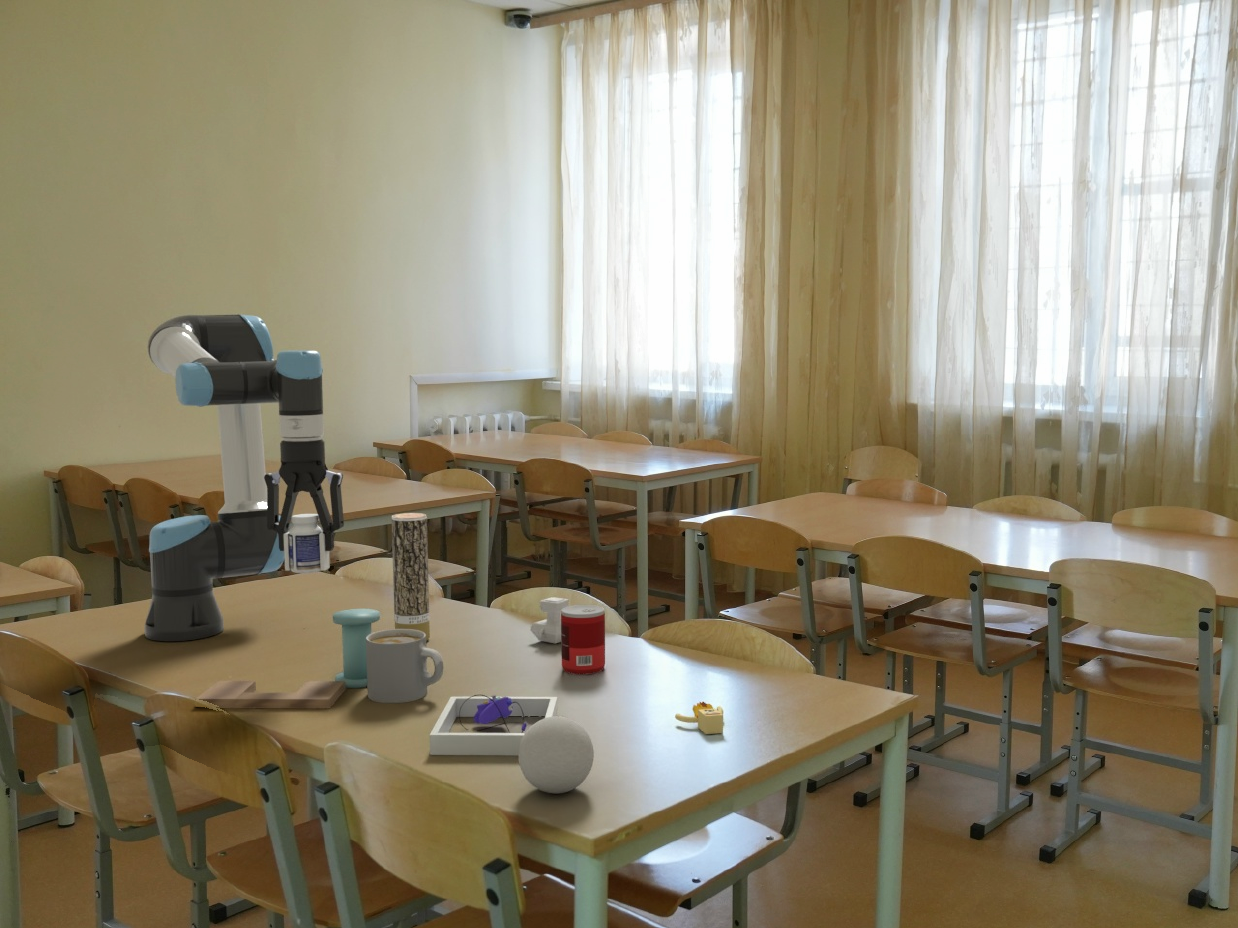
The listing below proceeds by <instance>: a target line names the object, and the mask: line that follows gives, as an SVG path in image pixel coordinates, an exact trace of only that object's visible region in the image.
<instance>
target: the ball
mask: <svg viewBox="0 0 1238 928" xmlns="http://www.w3.org/2000/svg"><path fill="white" fill-rule="evenodd" d="M525 731H526V732H524V733H525V734H524V736H523V738H522V740H521V743H520V747H519V755H518V763H519V766H520V770H521V772H522V774H523V777H524V778H525V779H526V780H527V782H528V783H529V784H530V785H531V786H533V787H534V788H535V789H537V790H539V791H542V792H544V793H549V794H557V795H558V794H564V793H567V792H570V791H572V790H574V789H576V788H577V787H578V786H580V785H582V783H583V782H584V781H585V780H586V779H587V777H588V776H589V774H590V772H591V771H592V768H593V762H594V756H595V755H594V754H595V751H594V745H593V742H592V738H591V736H590V735H589V733H588V732H587V730H586V729H585V728H584V727H583V726H582V725H581V724H580V723H579V722H577V721H575V720H573V719H571V718H569V717H566V716H560V715H559V716H553V717H547V718H545V717H543V718H542V719H540V720H538V721H536V722H535V723H533V724H532V725H531V726H530V727H529V728H528V729H527V730H525Z"/></svg>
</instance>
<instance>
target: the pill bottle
mask: <svg viewBox="0 0 1238 928" xmlns="http://www.w3.org/2000/svg"><path fill="white" fill-rule="evenodd" d="M319 522H320V519H319V516H318V513H300V514H292V517H291V523H292V525H293V526H292V527H291V528H290V529H289V530H288V532H289V543H290V567H291V570H290V571H291V572H293V573H296V574H310V573H311V574H312V573H313V574H314V573H318V572H322V571H321V566H320V541H319V534H320V533H322V532H323V528H321V527H320V526H319V524H318V523H319Z"/></svg>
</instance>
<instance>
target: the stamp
mask: <svg viewBox="0 0 1238 928" xmlns="http://www.w3.org/2000/svg"><path fill="white" fill-rule="evenodd" d="M569 602H570V599H568V598H561V597H554V596H551V597H548V598H544V599H541V600H540V601H539V605H540V606H539V607H540V610H541V612H543V613H546V615H547V616H546V617H547V618H545V619H542V620H538V621H535V622H533V623H532V624H531V626H530V631H531V633H532V634H533V635H534V636H535V638H536V639H537V640H538V641H541V642H545V643H550V644H557V643H561V610H562V609H563V608H565V607H567V606H569Z"/></svg>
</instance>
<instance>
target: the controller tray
mask: <svg viewBox="0 0 1238 928" xmlns="http://www.w3.org/2000/svg"><path fill="white" fill-rule="evenodd" d="M470 697H471V698H470ZM488 697H489V698H491V699H493V698H492V697H491V696H487V697H485V696H473V697H472V696H450V698H448V699H449V700H448V701H447V702H446V705H445V706H444V708H443V710H442V712H441V714H440V715H439V717H438V720H437V721H436V723H435V725H434V726H433V729H431V732H430V733H429V755H430V756H519V747H520V743H521V740H522V738H523V736H524V734H525V733H526V732H510V733H509V732H450V731H451V729H452V727H453V725H454V723H455V721H456V719H457V718H459V712H460V718H474V715H475V714H476V712H477V711H478V708H477V705H480V704H482V703H483V702H485V701H488V702H489V700H491V699H489V698H488ZM498 697H500V698H502V697H503V696H496V698H498ZM507 697H508V698H511V701H512V702H517V703H512V706H513V710H512V713H511V714H510V715H509V716H523V714H524V716H545V717H544V718H547V717H553V716H557V715H558V713H559V712H558V697H557V696H507ZM468 698H469V699H468ZM467 699H468V700H467ZM466 700H467V701H466ZM465 701H466V702H465ZM464 702H465V703H464ZM463 703H464V704H463ZM518 703H519V704H518ZM462 704H463V705H462ZM519 705H520V706H521V708H522V710H521V708H520V706H519ZM461 706H462V707H461ZM460 708H461V710H460ZM522 711H523V713H522Z"/></svg>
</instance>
